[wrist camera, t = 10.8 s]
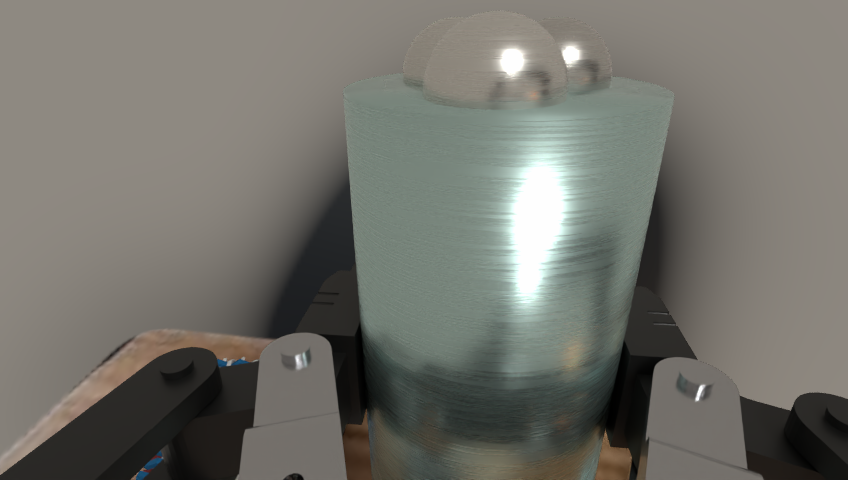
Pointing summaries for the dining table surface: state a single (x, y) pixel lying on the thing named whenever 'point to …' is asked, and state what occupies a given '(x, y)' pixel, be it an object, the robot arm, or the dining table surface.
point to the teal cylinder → (498, 245)
